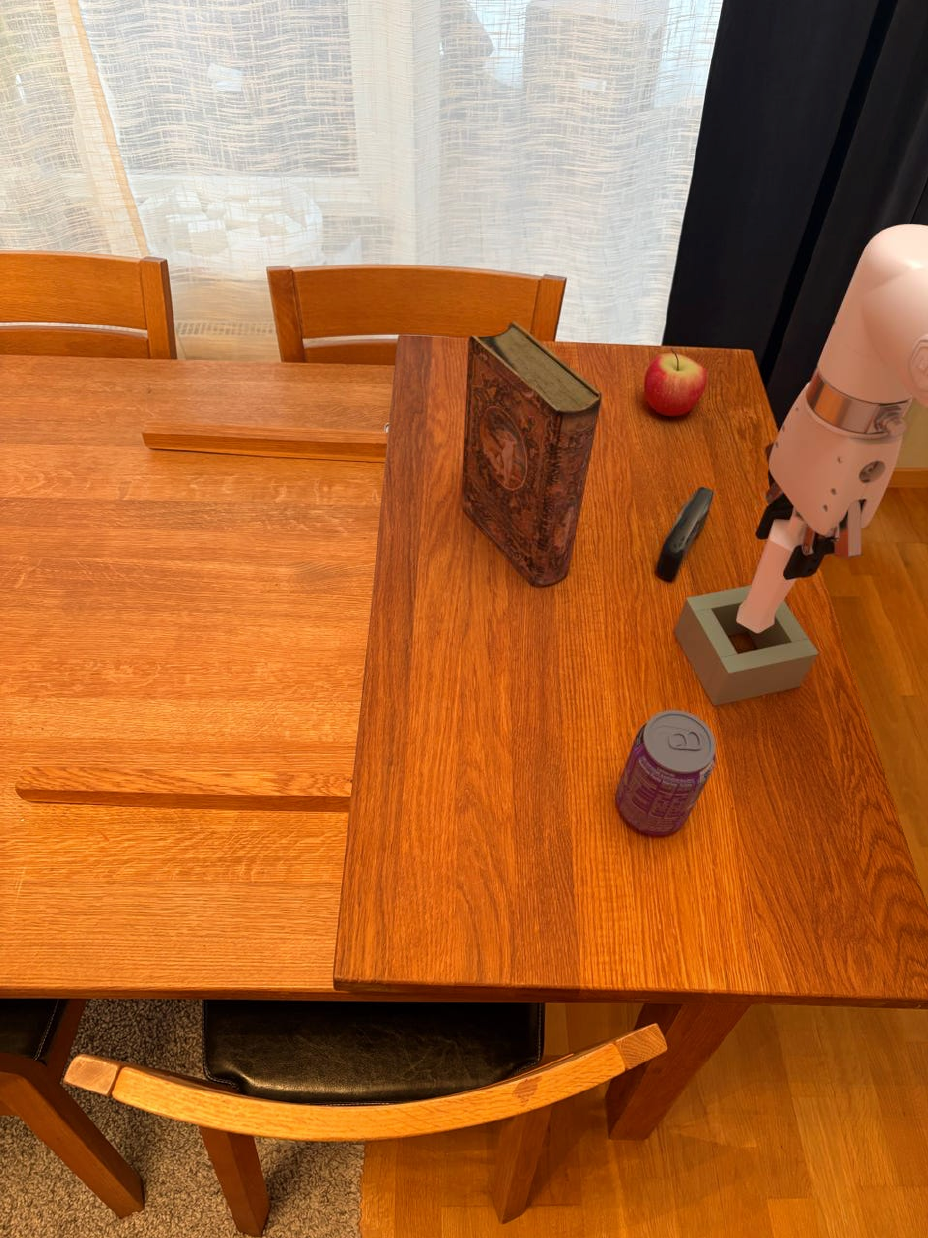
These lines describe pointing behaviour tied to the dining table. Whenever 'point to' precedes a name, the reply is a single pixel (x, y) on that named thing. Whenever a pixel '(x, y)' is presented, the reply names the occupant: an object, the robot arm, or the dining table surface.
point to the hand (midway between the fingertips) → (784, 553)
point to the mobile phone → (684, 533)
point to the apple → (674, 383)
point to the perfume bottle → (772, 574)
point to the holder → (748, 673)
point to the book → (526, 450)
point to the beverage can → (666, 772)
